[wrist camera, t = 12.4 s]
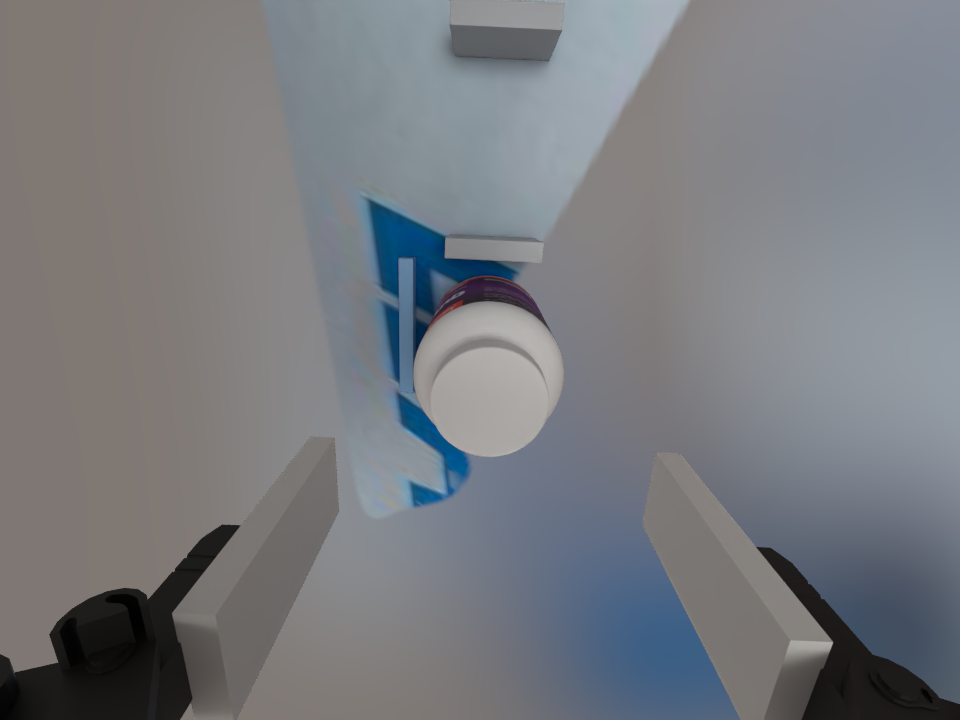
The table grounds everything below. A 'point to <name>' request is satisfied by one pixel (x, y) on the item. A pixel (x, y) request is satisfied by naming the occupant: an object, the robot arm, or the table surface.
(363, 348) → the table surface
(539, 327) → the pill bottle
